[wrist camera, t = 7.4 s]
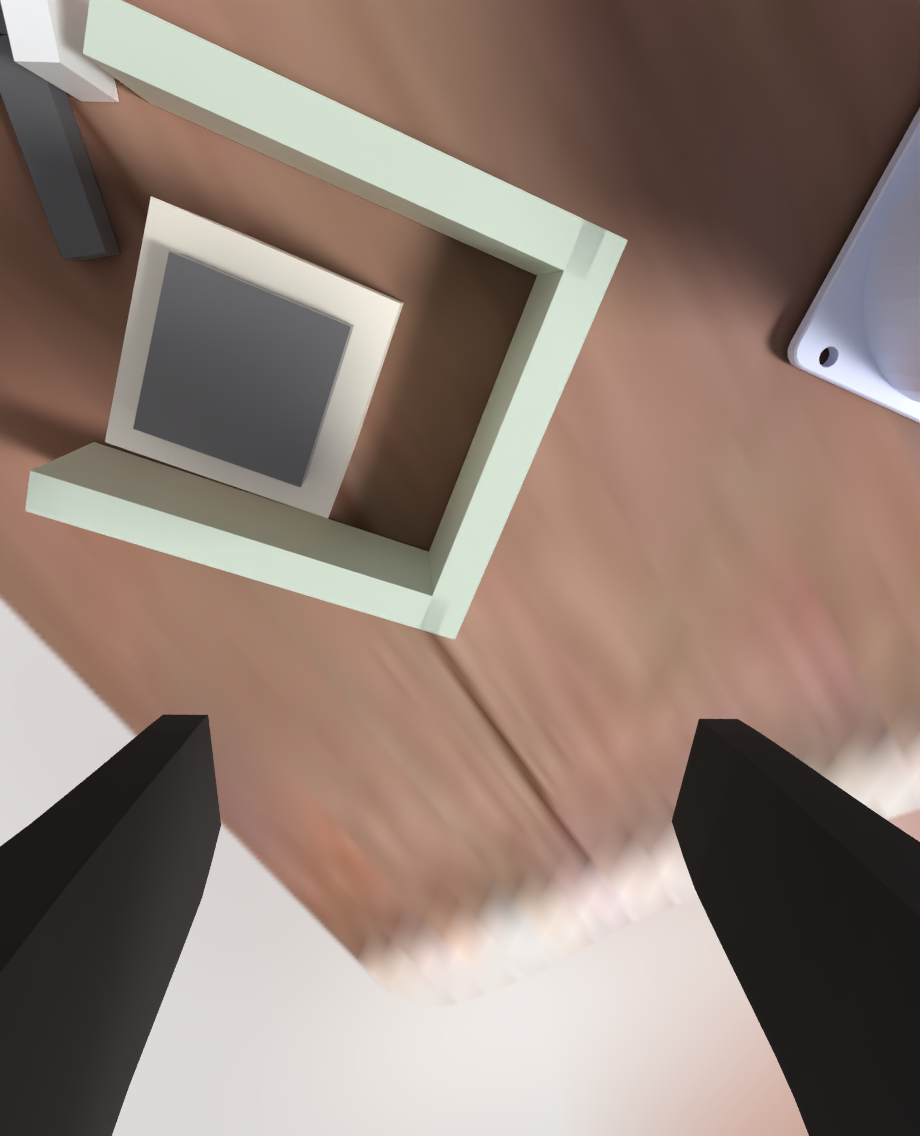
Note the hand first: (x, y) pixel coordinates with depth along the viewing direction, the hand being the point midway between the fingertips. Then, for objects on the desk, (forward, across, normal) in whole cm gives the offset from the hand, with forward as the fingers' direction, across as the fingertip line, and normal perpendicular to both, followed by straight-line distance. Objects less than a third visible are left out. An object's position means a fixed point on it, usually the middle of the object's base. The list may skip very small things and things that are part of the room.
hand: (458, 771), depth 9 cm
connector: (+10, +4, -5) cm, 12 cm away
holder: (+10, +3, -5) cm, 11 cm away
